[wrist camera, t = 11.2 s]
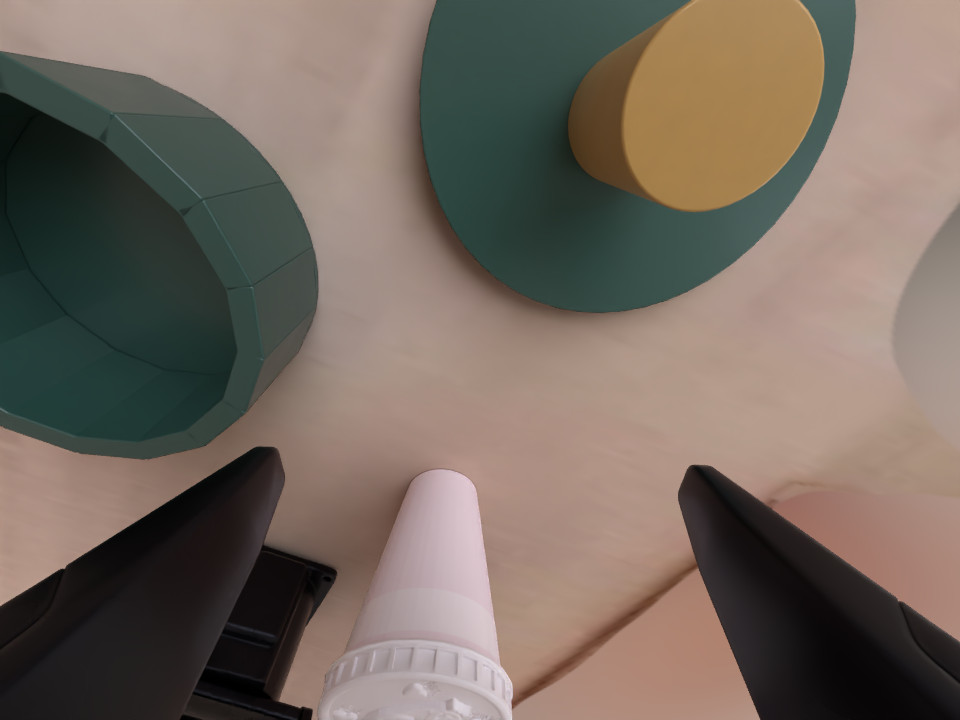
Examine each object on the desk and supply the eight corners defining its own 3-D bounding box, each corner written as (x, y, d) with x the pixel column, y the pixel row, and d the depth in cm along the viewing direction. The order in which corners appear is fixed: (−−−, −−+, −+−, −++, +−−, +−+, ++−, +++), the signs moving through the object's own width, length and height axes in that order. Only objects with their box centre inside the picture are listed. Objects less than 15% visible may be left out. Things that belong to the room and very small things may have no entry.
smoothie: (356, 490, 21) (185, 961, 9) (444, 426, 19) (376, 920, 7) (440, 551, 24) (394, 994, 11) (527, 499, 22) (584, 971, 9)
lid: (640, 353, 17) (718, 461, 12) (364, 198, 14) (285, 240, 9) (921, 27, 12) (1322, -72, 6) (572, -325, 9) (729, -1121, 3)
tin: (273, 421, 19) (214, 501, 15) (-8, 309, 17) (-173, 368, 12) (362, 194, 14) (313, 218, 10) (-15, -19, 12) (-294, -104, 7)
